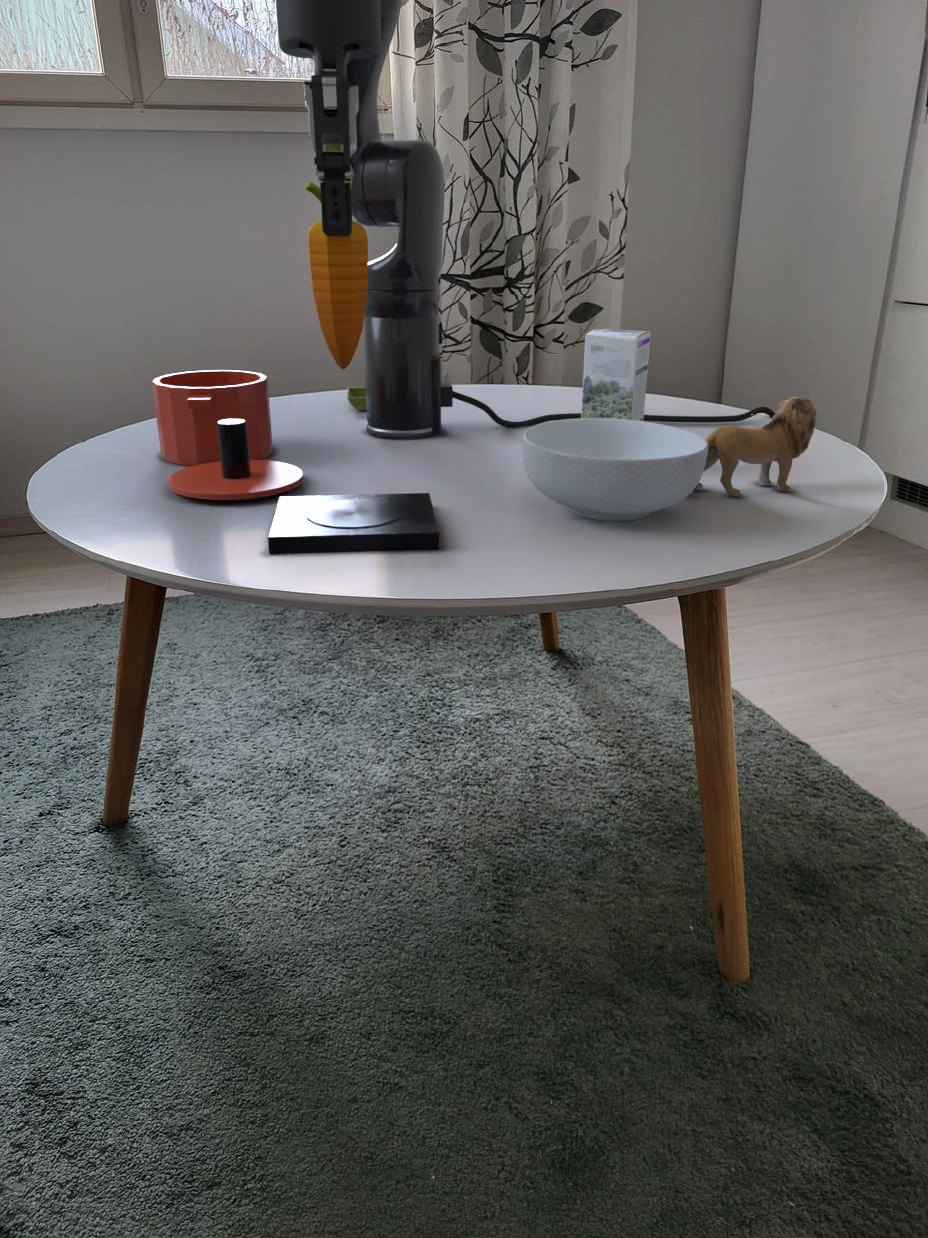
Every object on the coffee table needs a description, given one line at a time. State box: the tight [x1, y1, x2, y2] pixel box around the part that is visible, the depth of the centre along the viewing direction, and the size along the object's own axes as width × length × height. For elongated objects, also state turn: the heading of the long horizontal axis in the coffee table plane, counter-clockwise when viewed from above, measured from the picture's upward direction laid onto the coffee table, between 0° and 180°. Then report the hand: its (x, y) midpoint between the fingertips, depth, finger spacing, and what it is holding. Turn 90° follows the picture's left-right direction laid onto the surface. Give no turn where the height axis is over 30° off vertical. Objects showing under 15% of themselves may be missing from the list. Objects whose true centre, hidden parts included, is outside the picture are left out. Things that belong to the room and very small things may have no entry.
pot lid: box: [167, 419, 305, 502], centre depth 94 cm, size 13×13×7 cm
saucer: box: [346, 386, 367, 411], centre depth 134 cm, size 9×9×2 cm
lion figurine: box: [690, 396, 818, 498], centre depth 93 cm, size 15×5×9 cm, turn 116°
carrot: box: [304, 181, 369, 370], centre depth 74 cm, size 5×5×15 cm
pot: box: [151, 369, 273, 467], centre depth 107 cm, size 12×18×8 cm
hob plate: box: [267, 492, 440, 555], centre depth 82 cm, size 14×12×2 cm
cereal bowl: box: [522, 418, 708, 522], centre depth 87 cm, size 17×17×7 cm
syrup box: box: [580, 328, 651, 421], centre depth 101 cm, size 6×6×14 cm
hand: (338, 234), depth 73 cm, fingers closed on carrot, 4 cm apart
